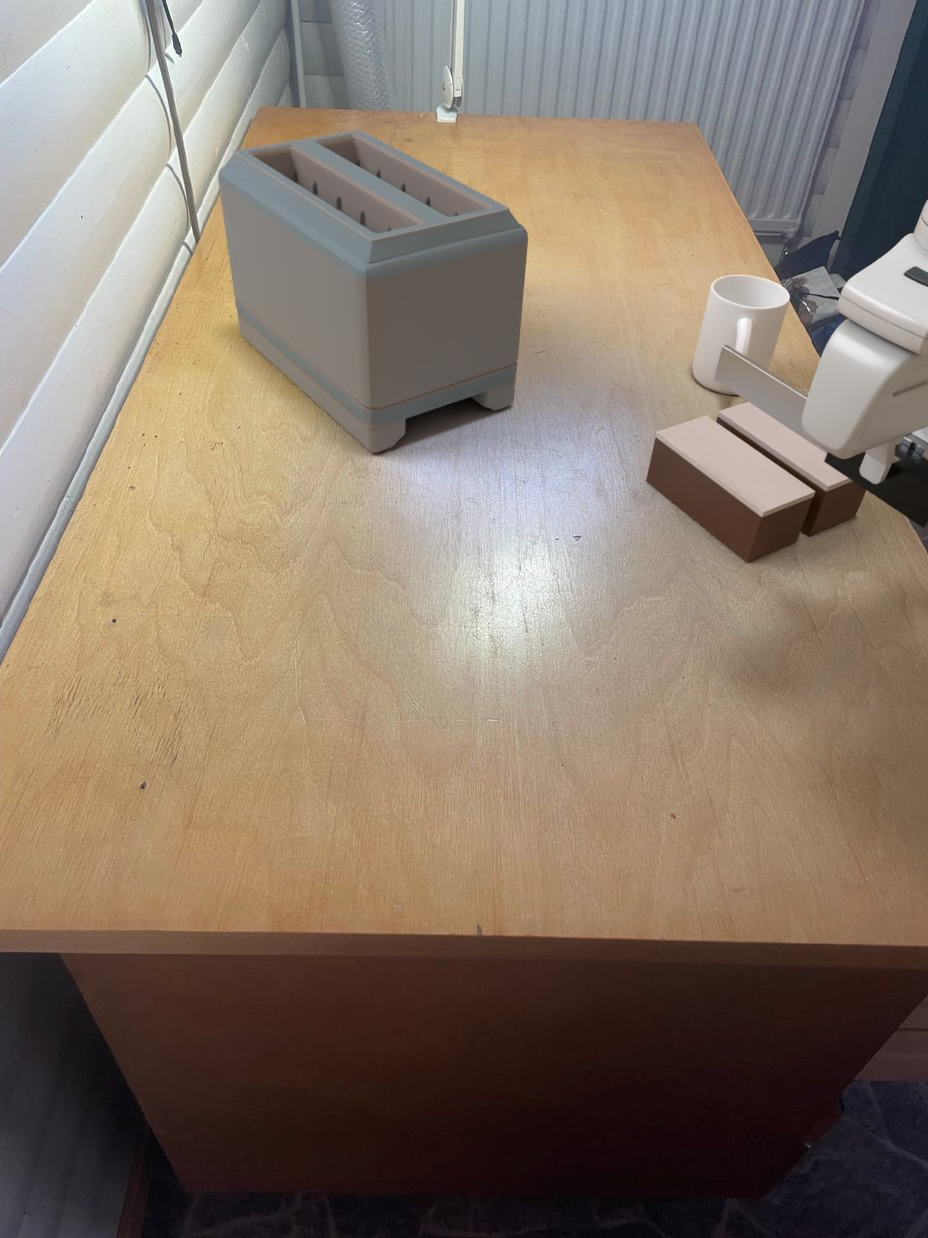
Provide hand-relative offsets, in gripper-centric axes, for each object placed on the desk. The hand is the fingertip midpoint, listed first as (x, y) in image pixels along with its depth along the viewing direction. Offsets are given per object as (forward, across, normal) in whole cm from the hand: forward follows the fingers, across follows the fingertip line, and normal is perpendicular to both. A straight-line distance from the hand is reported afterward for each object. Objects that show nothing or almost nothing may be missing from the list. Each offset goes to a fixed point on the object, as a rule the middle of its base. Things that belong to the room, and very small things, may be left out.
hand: (892, 469), depth 64 cm
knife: (+2, 0, -7) cm, 7 cm away
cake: (+15, -7, -16) cm, 23 cm away
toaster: (+16, +13, -56) cm, 60 cm away
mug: (+16, -20, -33) cm, 42 cm away
